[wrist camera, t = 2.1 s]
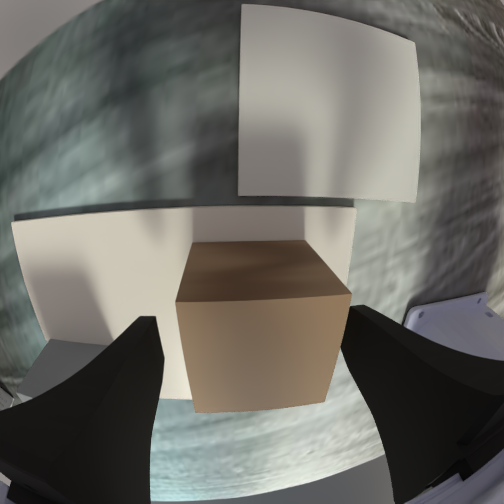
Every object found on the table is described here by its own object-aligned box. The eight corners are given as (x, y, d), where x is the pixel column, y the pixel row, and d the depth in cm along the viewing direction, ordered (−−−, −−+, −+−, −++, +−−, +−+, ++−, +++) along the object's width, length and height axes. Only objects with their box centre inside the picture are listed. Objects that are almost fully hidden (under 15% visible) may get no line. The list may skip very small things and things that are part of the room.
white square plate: (409, 44, 9) (414, 42, 9) (410, 200, 13) (415, 202, 12) (241, 8, 8) (241, 3, 8) (237, 193, 12) (238, 195, 11)
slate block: (116, 345, 13) (89, 412, 9) (137, 400, 15) (124, 460, 11) (50, 338, 13) (15, 392, 8) (76, 391, 15) (55, 443, 10)
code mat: (354, 207, 12) (357, 208, 12) (321, 386, 17) (323, 390, 16) (14, 221, 10) (10, 223, 10) (70, 383, 15) (68, 387, 14)
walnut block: (305, 239, 12) (352, 293, 8) (296, 330, 14) (324, 401, 9) (192, 242, 12) (174, 302, 7) (200, 335, 13) (195, 412, 9)
